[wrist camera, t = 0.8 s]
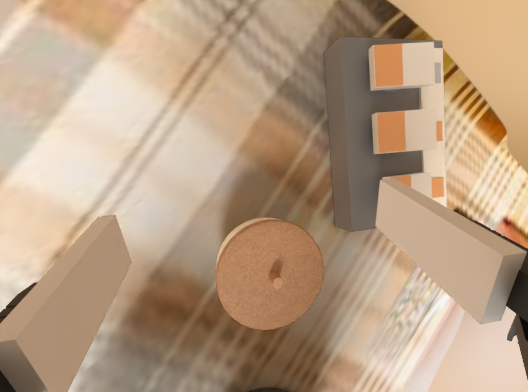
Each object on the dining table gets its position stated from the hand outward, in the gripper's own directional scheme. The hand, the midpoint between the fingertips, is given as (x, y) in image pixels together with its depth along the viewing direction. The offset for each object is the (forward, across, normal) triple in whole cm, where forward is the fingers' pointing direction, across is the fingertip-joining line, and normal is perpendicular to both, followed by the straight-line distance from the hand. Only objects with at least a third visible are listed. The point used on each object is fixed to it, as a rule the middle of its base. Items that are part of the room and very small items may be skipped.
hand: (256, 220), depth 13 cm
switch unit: (+22, -19, +2) cm, 29 cm away
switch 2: (+16, -19, 0) cm, 25 cm away
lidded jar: (+16, 0, +13) cm, 21 cm away
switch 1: (+19, -19, -6) cm, 27 cm away
